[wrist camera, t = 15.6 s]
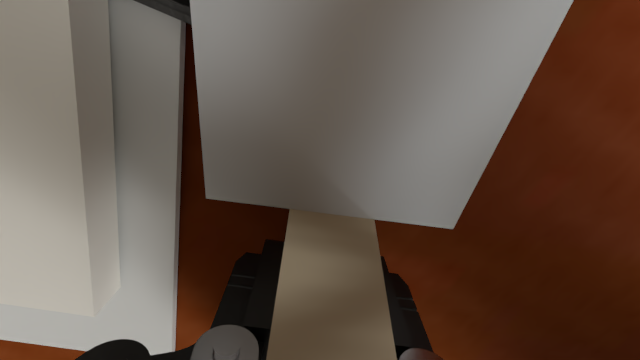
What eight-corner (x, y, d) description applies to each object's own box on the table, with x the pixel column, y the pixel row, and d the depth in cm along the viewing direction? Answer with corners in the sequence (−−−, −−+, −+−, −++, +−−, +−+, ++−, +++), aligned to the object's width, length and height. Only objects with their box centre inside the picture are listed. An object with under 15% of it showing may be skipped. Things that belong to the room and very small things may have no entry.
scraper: (584, -78, 6) (1787, -193, 1) (375, 355, 15) (396, 548, 10) (194, -151, 5) (-896, -934, 1) (223, 340, 15) (171, 534, 10)
